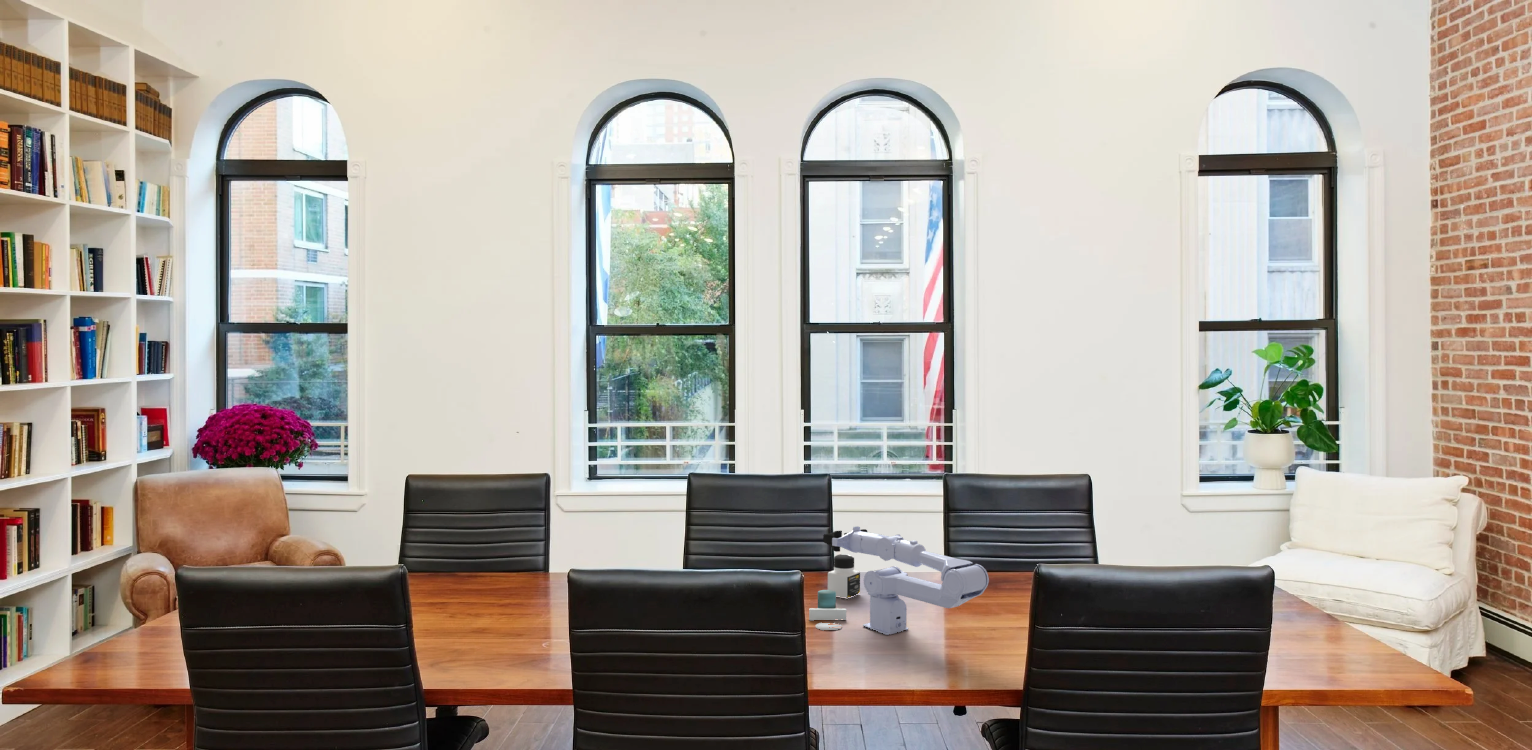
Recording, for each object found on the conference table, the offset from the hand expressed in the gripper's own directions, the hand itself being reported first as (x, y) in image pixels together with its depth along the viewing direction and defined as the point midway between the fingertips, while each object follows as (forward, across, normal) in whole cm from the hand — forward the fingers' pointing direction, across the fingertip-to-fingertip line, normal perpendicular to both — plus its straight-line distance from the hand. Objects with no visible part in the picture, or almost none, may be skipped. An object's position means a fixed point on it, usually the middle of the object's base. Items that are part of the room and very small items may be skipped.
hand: (834, 537), depth 254 cm
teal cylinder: (0, +2, +21) cm, 21 cm away
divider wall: (-5, +6, +21) cm, 23 cm away
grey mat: (-9, +9, +22) cm, 26 cm away
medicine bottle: (+11, -14, +19) cm, 26 cm away
